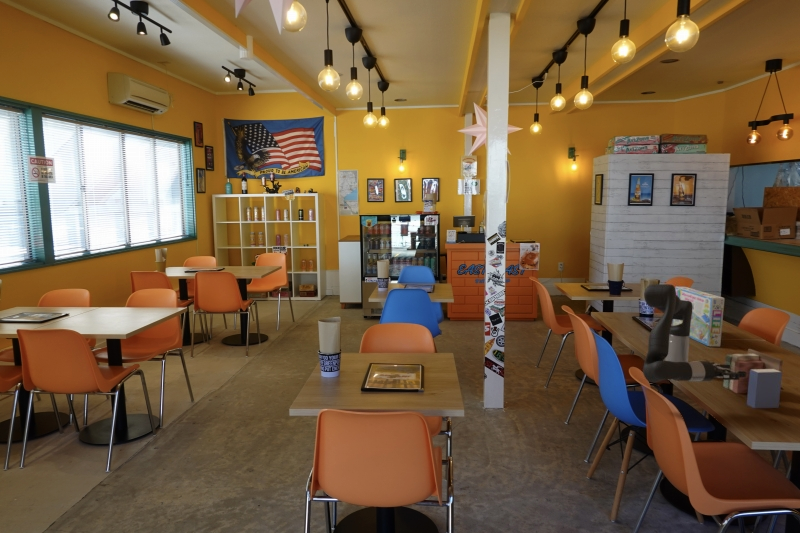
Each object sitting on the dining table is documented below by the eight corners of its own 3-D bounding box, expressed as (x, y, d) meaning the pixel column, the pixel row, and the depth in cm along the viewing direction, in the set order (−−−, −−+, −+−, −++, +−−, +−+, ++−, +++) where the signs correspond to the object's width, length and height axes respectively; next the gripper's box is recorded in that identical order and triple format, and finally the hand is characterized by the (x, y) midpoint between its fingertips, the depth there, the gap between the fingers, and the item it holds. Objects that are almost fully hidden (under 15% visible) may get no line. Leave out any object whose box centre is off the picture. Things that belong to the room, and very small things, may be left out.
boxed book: (754, 408, 201) (758, 372, 200) (746, 404, 205) (750, 369, 204) (778, 407, 203) (782, 371, 201) (770, 403, 206) (773, 368, 205)
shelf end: (754, 401, 208) (758, 362, 206) (721, 385, 226) (724, 349, 224) (782, 401, 209) (786, 361, 207) (747, 384, 228) (750, 348, 226)
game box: (720, 347, 288) (725, 298, 285) (708, 347, 288) (712, 297, 285) (683, 329, 328) (686, 286, 325) (671, 329, 328) (674, 286, 325)
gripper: (711, 367, 193) (752, 366, 194) (686, 356, 207) (724, 355, 208) (709, 387, 193) (750, 386, 195) (684, 374, 208) (723, 374, 209)
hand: (737, 370), depth 202 cm, fingers open, 8 cm apart
